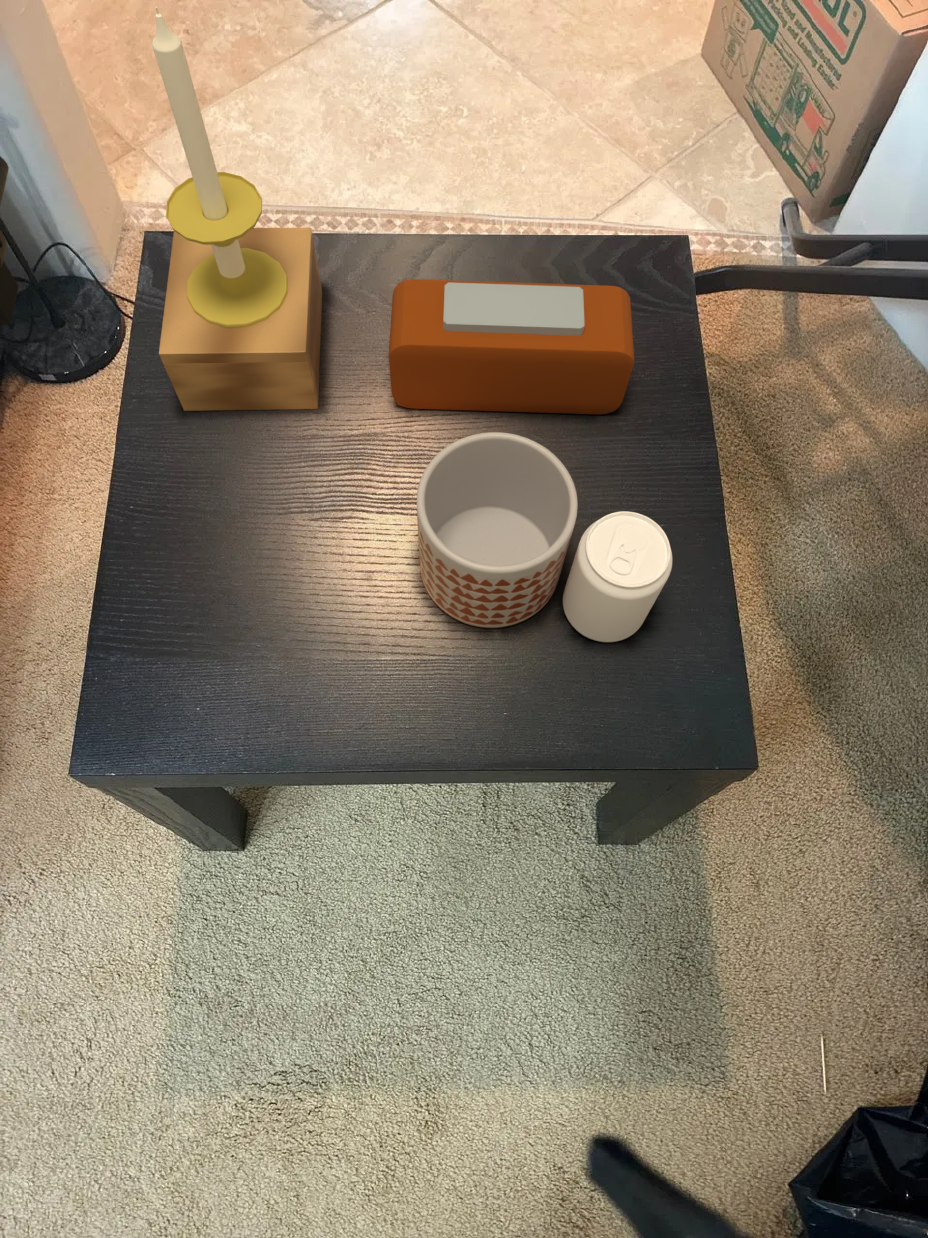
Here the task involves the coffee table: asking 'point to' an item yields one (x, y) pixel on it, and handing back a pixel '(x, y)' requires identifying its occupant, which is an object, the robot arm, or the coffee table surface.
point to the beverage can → (616, 576)
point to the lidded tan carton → (246, 333)
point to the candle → (215, 211)
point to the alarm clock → (510, 346)
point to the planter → (494, 528)
